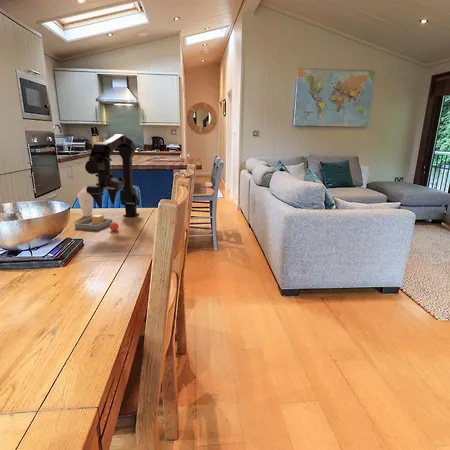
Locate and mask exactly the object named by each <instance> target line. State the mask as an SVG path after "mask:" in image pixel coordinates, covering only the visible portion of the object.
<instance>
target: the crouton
mask: <svg viewBox="0 0 450 450" xmlns="http://www.w3.org/2000/svg"><path fill="white" fill-rule="evenodd" d="M91 217H92V224H95V225H99V224H101V223H103V222H104V219H105V216H104V214H94V215H92V216H90V218H91Z"/></svg>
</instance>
